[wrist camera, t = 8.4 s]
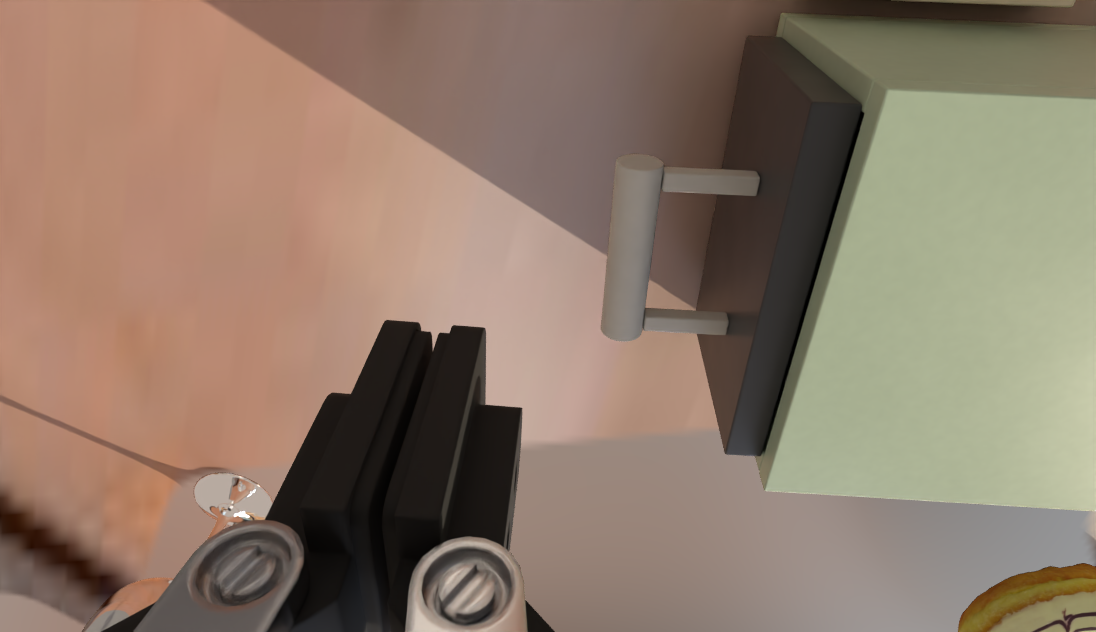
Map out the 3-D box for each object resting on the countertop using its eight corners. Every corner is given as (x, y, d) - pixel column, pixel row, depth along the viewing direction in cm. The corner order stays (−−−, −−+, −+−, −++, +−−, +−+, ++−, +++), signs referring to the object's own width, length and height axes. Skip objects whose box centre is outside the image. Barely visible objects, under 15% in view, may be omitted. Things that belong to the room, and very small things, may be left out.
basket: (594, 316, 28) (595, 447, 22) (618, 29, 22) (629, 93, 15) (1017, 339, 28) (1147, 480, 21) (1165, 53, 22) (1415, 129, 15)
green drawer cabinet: (716, 323, 29) (763, 491, 21) (780, 12, 22) (886, 88, 14) (1054, 341, 29) (1232, 520, 21) (1227, 30, 22) (1595, 119, 14)
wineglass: (168, 461, 36) (6, 687, 26) (272, 465, 36) (149, 694, 26) (199, 531, 39) (65, 755, 29) (295, 535, 39) (193, 763, 29)
